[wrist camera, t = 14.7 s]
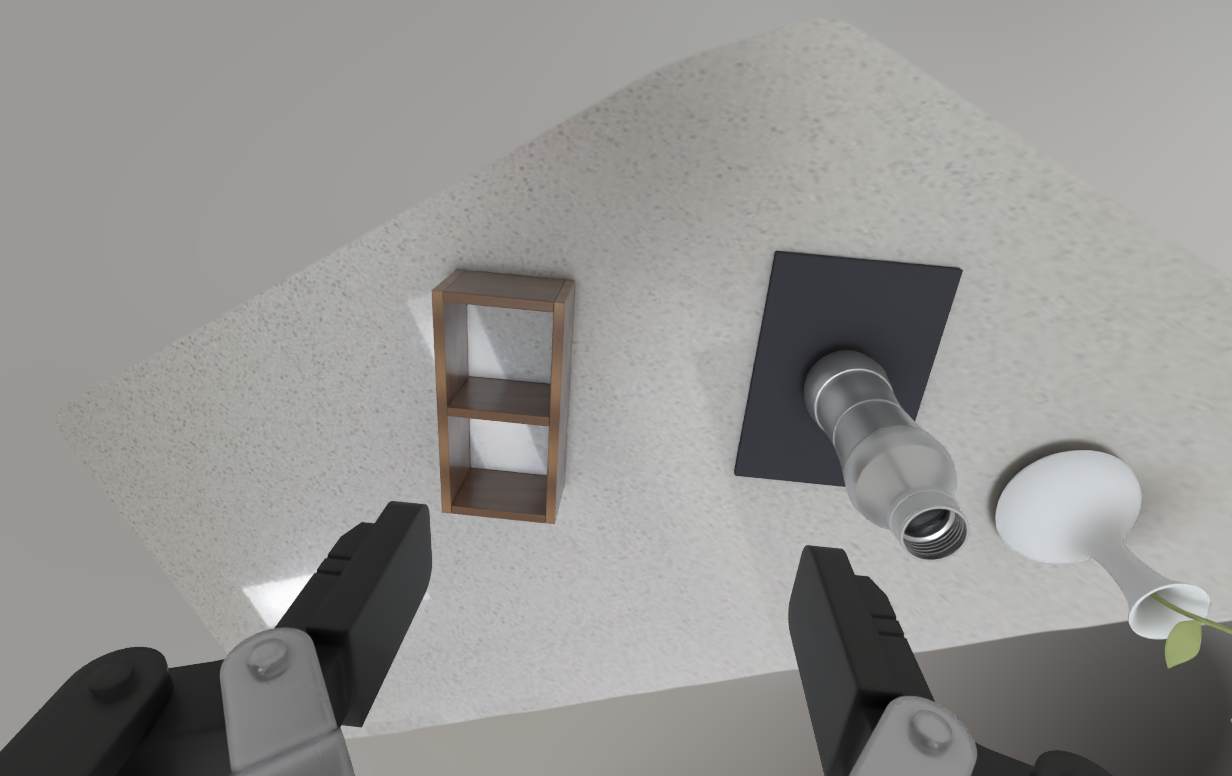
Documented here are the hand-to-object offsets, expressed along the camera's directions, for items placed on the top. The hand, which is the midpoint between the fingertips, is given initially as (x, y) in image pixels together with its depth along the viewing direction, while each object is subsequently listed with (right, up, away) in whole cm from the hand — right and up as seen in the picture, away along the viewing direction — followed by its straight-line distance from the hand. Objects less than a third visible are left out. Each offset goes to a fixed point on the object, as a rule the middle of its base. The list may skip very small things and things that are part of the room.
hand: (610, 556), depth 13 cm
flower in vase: (+40, -6, +42) cm, 58 cm away
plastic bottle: (+18, +4, +38) cm, 43 cm away
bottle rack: (-9, +4, +41) cm, 42 cm away
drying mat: (+18, +4, +39) cm, 43 cm away
